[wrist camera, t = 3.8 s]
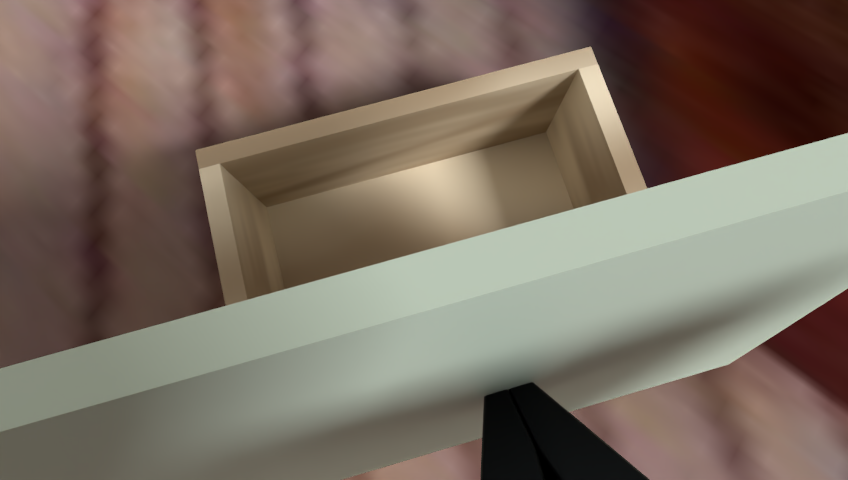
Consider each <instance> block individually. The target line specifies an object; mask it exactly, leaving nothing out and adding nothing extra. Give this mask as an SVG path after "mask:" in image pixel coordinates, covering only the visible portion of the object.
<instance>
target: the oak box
mask: <svg viewBox="0 0 848 480" xmlns="http://www.w3.org/2000/svg"><path fill="white" fill-rule="evenodd" d="M195 152H196V157H197V162H198V168H199V173H200V178H201V183H202V188H203V193H204V198H205V203H206V208H207V214H208V219H209V224H210V229H211V234H212V239H213V244H214V249H215V255H216V260H217V265H218V270H219V275H220V280H221V285H222V290H223V296H224V301H225V306H227V305H230V304H234V303H238V302H241V301H245V300H248V299H252V298H256V297H259V296H263V295H266V294H270V293H274V292H277V291H281V290H284V289H288V288H292V287H295V286H299V285H302V284H306V283H310V282H313V281H317V280H320V279H324V278H328V277H331V276H335V275H338V274H342V273H346V272H349V271H353V270H356V269H360V268H364V267H367V266H371V265H374V264H378V263H382V262H385V261H389V260H392V259H396V258H400V257H403V256H407V255H410V254H414V253H418V252H421V251H425V250H428V249H432V248H436V247H439V246H443V245H446V244H450V243H454V242H457V241H461V240H464V239H468V238H472V237H475V236H479V235H482V234H486V233H490V232H493V231H497V230H500V229H504V228H508V227H511V226H515V225H518V224H522V223H526V222H529V221H533V220H536V219H540V218H544V217H547V216H551V215H554V214H558V213H562V212H565V211H569V210H572V209H576V208H580V207H583V206H587V205H590V204H594V203H598V202H601V201H605V200H608V199H612V198H616V197H619V196H623V195H626V194H630V193H634V192H637V191H641V190H645V189H647V187H646V184H645V182H644V179H643V177H642V174H641V172H640V169H639V167H638V164H637V162H636V159H635V157H634V154H633V152H632V149H631V147H630V144H629V141H628V139H627V136H626V134H625V131H624V129H623V126H622V124H621V121H620V119H619V116H618V114H617V111H616V109H615V106H614V104H613V101H612V99H611V96H610V94H609V91H608V89H607V86H606V83H605V81H604V78H603V76H602V73H601V71H600V68H599V66H598V63H597V61H596V58H595V56H594V53H593V51H592V48H591V47H587V48H584V49H580V50H576V51H572V52H568V53H564V54H561V55H557V56H553V57H549V58H545V59H542V60H538V61H534V62H530V63H526V64H522V65H519V66H515V67H511V68H507V69H503V70H499V71H496V72H492V73H488V74H484V75H480V76H477V77H473V78H469V79H465V80H461V81H457V82H454V83H450V84H446V85H442V86H438V87H434V88H431V89H427V90H423V91H419V92H415V93H412V94H408V95H404V96H400V97H396V98H392V99H389V100H385V101H381V102H377V103H373V104H370V105H366V106H362V107H358V108H354V109H350V110H347V111H343V112H339V113H335V114H331V115H327V116H324V117H320V118H316V119H312V120H308V121H305V122H301V123H297V124H293V125H289V126H285V127H282V128H278V129H274V130H270V131H266V132H263V133H259V134H255V135H251V136H247V137H243V138H240V139H236V140H232V141H228V142H224V143H220V144H217V145H213V146H209V147H205V148H201V149H198V150H195Z"/></svg>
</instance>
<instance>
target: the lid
mask: <svg viewBox="0 0 848 480" xmlns="http://www.w3.org/2000/svg"><path fill="white" fill-rule="evenodd" d="M847 288H848V133H846V134H843V135H839V136H835V137H832V138H828V139H825V140H821V141H817V142H814V143H810V144H807V145H803V146H799V147H796V148H792V149H789V150H785V151H781V152H778V153H774V154H771V155H767V156H763V157H760V158H756V159H753V160H749V161H745V162H742V163H738V164H735V165H731V166H727V167H724V168H720V169H717V170H713V171H709V172H706V173H702V174H699V175H695V176H691V177H688V178H684V179H681V180H677V181H673V182H670V183H666V184H663V185H659V186H655V187H652V188H648V189H645V190H641V191H637V192H634V193H630V194H626V195H623V196H619V197H616V198H612V199H608V200H605V201H601V202H598V203H594V204H590V205H587V206H583V207H580V208H576V209H572V210H569V211H565V212H562V213H558V214H554V215H551V216H547V217H544V218H540V219H536V220H533V221H529V222H526V223H522V224H518V225H515V226H511V227H508V228H504V229H500V230H497V231H493V232H490V233H486V234H482V235H479V236H475V237H472V238H468V239H464V240H461V241H457V242H454V243H450V244H446V245H443V246H439V247H436V248H432V249H428V250H425V251H421V252H418V253H414V254H410V255H407V256H403V257H400V258H396V259H392V260H389V261H385V262H382V263H378V264H374V265H371V266H367V267H364V268H360V269H356V270H353V271H349V272H346V273H342V274H338V275H335V276H331V277H328V278H324V279H320V280H317V281H313V282H310V283H306V284H302V285H299V286H295V287H292V288H288V289H284V290H281V291H277V292H274V293H270V294H266V295H263V296H259V297H256V298H252V299H248V300H245V301H241V302H238V303H234V304H230V305H227V306H223V307H220V308H216V309H212V310H209V311H205V312H202V313H198V314H194V315H191V316H187V317H184V318H180V319H176V320H173V321H169V322H166V323H162V324H158V325H155V326H151V327H148V328H144V329H140V330H137V331H133V332H130V333H126V334H122V335H119V336H115V337H112V338H108V339H104V340H101V341H97V342H94V343H90V344H86V345H83V346H79V347H76V348H72V349H68V350H65V351H61V352H58V353H54V354H50V355H47V356H43V357H40V358H36V359H32V360H29V361H25V362H22V363H18V364H14V365H11V366H7V367H4V368H0V480H342V479H346V478H349V477H352V476H356V475H359V474H362V473H366V472H369V471H372V470H376V469H379V468H382V467H386V466H389V465H392V464H396V463H399V462H403V461H406V460H409V459H413V458H416V457H419V456H423V455H426V454H429V453H433V452H436V451H439V450H443V449H446V448H449V447H453V446H456V445H460V444H463V443H466V442H470V441H473V440H476V439H480V438H482V432H483V406H484V396H486V395H489V394H493V393H496V392H499V391H503V390H509V389H511V388H513V387H516V386H520V385H523V384H527V383H530V382H533V383H535V384H536V385H537V386H538V387H540V388H541V389H542V390H543V391H544V392H546V393H547V394H548V395H549V396H550V397H552V398H553V399H554V400H555V401H556V402H557V403H559V404H560V405H561V406H562V407H563V408H565V409H566V410H567V411H568V412H570V411H574V410H577V409H580V408H584V407H587V406H590V405H594V404H597V403H600V402H604V401H607V400H610V399H614V398H617V397H621V396H624V395H627V394H631V393H634V392H637V391H641V390H644V389H647V388H651V387H654V386H657V385H661V384H664V383H667V382H671V381H674V380H678V379H681V378H684V377H688V376H691V375H694V374H698V373H701V372H704V371H708V370H711V369H714V368H718V367H721V366H724V365H728V364H730V363H732V362H733V361H735V360H736V359H738V358H739V357H741V356H743V355H744V354H746V353H747V352H749V351H750V350H752V349H754V348H755V347H757V346H758V345H760V344H761V343H763V342H764V341H766V340H768V339H769V338H771V337H772V336H774V335H775V334H777V333H779V332H780V331H782V330H783V329H785V328H786V327H788V326H790V325H791V324H793V323H794V322H796V321H797V320H799V319H800V318H802V317H804V316H805V315H807V314H808V313H810V312H811V311H813V310H815V309H816V308H818V307H819V306H821V305H822V304H824V303H826V302H827V301H829V300H830V299H832V298H833V297H835V296H836V295H838V294H840V293H841V292H843V291H844V290H846V289H847Z"/></svg>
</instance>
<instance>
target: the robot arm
mask: <svg viewBox="0 0 848 480" xmlns="http://www.w3.org/2000/svg"><path fill="white" fill-rule="evenodd" d="M481 480H649V479H648V478H647V477H646V476H645V475H643V474H642V473H641V472H640V471H639V470H637V469H636V468H635V467H634V466H633V465H631V464H630V463H629V462H628V461H627V460H625V459H624V458H623V457H622V456H621V455H619V454H618V453H617V452H616V451H615V450H614V449H612V448H611V447H610V446H609V445H608V444H606V443H605V442H604V441H603V440H602V439H600V438H599V437H598V436H597V435H596V434H594V433H593V432H592V431H591V430H590V429H588V428H587V427H586V426H585V425H584V424H583V423H581V422H580V421H579V420H578V419H577V418H575V417H574V416H573V415H572V414H571V413H569V412H568V411H567V410H566V409H565V408H563V407H562V406H561V405H560V404H559V403H557V402H556V401H555V400H554V399H553V398H552V397H550V396H549V395H548V394H547V393H546V392H544V391H543V390H542V389H541V388H540V387H538V386H537V385H536V384H535V383H533V382H530V383H527V384H523V385H520V386H516V387H513V388H511V389H509V390H503V391H499V392H496V393H493V394H489V395H486V396H484V406H483V432H482V457H481Z"/></svg>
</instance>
